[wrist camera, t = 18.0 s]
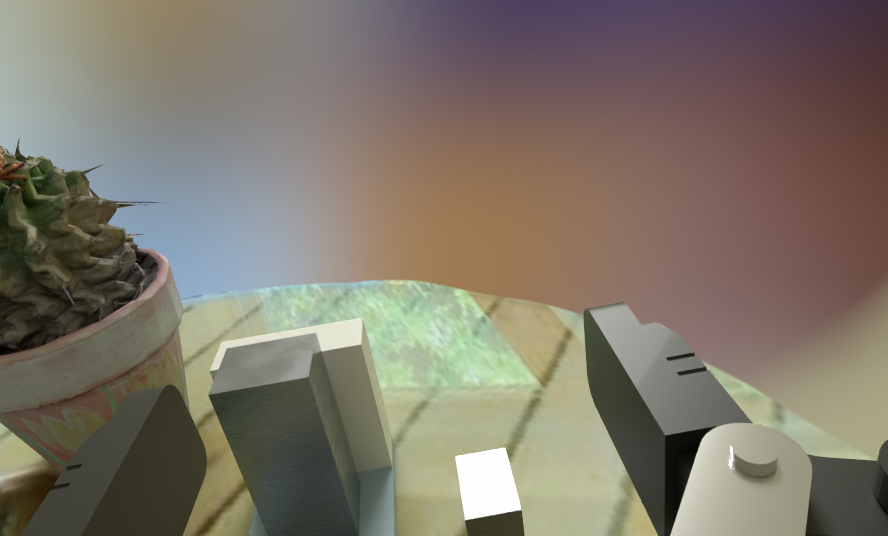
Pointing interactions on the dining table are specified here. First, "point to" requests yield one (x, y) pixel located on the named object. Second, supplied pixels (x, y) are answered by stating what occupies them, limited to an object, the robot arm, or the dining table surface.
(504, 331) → the dining table surface
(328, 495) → the steel block
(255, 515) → the vise
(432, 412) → the dining table surface
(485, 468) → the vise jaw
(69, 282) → the potted plant
